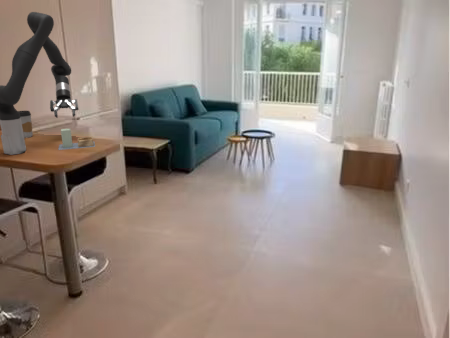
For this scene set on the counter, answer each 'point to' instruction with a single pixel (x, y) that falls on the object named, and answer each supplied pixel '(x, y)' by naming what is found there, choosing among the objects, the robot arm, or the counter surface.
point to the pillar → (66, 138)
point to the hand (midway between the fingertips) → (65, 116)
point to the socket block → (85, 142)
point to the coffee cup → (26, 123)
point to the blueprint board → (75, 145)
